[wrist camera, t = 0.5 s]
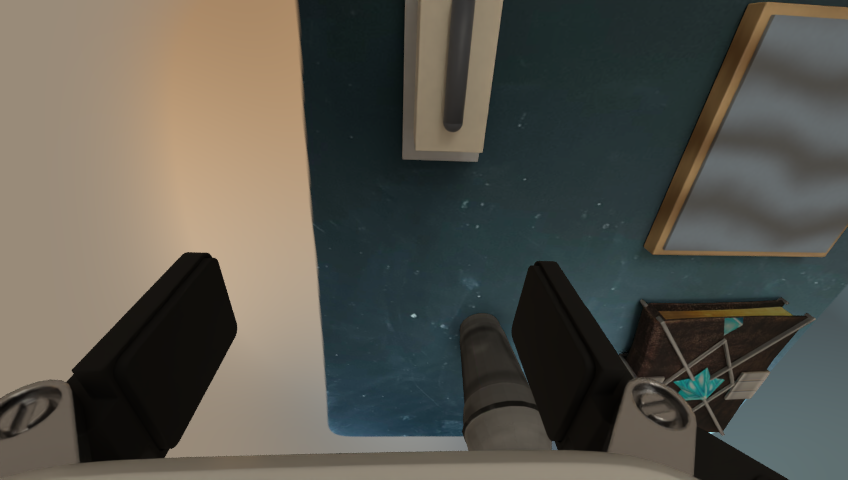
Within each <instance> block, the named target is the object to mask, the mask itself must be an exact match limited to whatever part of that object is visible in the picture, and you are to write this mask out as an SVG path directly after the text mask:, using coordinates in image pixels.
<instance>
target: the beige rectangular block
mask: <svg viewBox="0 0 848 480" xmlns="http://www.w3.org/2000/svg"><path fill="white" fill-rule="evenodd" d="M502 5H503V0H405V33H404V89H403V146H402V159H407V160H438V161H469V162H477V161H478V156H479V153H482V152H483V145H484V138H485V130H486V123H487V115H488V108H489V101H490V93H491V86H492V78H493V71H494V64H495V56H496V49H497V42H498V34H499V27H500V19H501V12H502Z"/></svg>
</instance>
